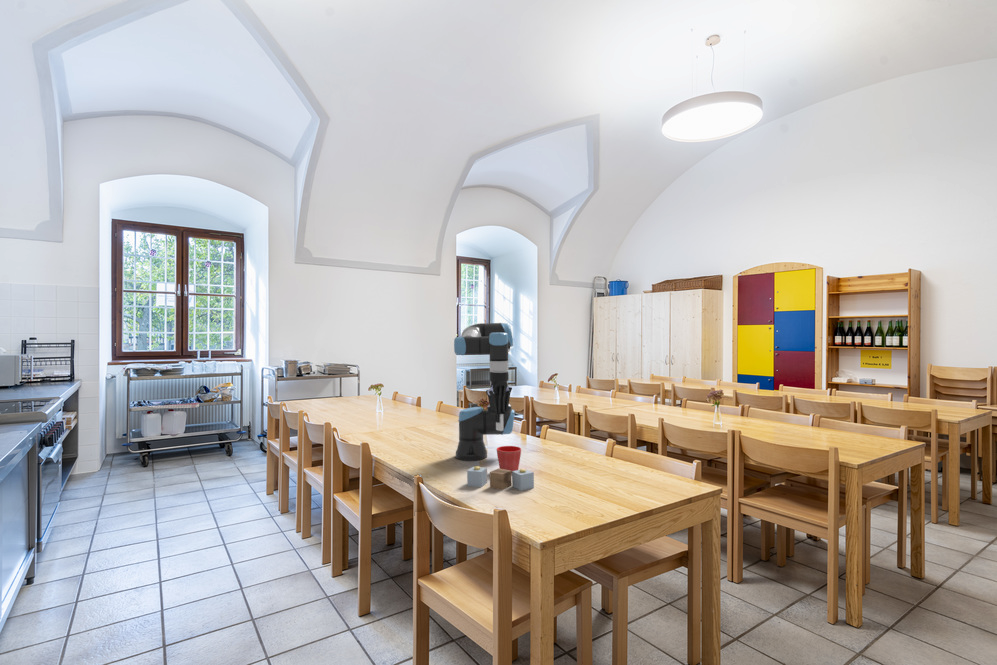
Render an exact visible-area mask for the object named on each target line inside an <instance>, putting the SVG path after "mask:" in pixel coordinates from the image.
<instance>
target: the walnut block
mask: <svg viewBox="0 0 997 665" xmlns="http://www.w3.org/2000/svg"><path fill="white" fill-rule="evenodd" d="M510 487H512V473H511V470H505V469H500V468H497V469H494V470H491V471H490V472H489V488H493V489H495V490H496V489H497V490H502V491H503V490H506V489H507V488H510Z"/></svg>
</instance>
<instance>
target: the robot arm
mask: <svg viewBox="0 0 997 665" xmlns="http://www.w3.org/2000/svg"><path fill="white" fill-rule="evenodd" d="M513 340H514V338H513V333H512V328H511V325H510V324H509V323H506V322H504V323H503V322H493V323H492V322H489V323H487V322H486V323H484V322H483V323H482V322H481V323H475V324H472V325H470V326H467V327H465V328H464V329H463V330H462V332H461V334H460V336H458V337H457V336H456V337H454V339H453V344H454V345H453V347H454V348H453V350H454V352H453V353H454V354H455V355H458V356H469V355H472V356H473V355H474V356H475V355H477V356H479V355H482V356H483V355H485V356H486V355H489V383H490V384H489V385H490V388H489V389H486V390H485V392H486V393H485V394H486V395H487V398H488V402H489V404H488V405H487V409H486V410H485V409H484V408H483V407H482V406H474V407H467V408H464V409H461V410H460V411H459V413H458V444H457V448H456V451H455V458H456V459H457V460H460V461H480V460H483V459H486V458H487V457H488V450H487V448H486V444H485V442H484V435H485V436H490V435H491V436H492V435H493V436H494V435H495V436H496V435H498V436H499V435H502V436H503V435H510V434H512V433H513V428H514V423H515V422H514V420H515V409H513V408H512V405H511V404H510V400H511V393H512V390H513V387H512V386H509V382H508V381H509V375H510V374H509V369H510V368H509V352H510V351H511V348H512V347H514V341H513Z"/></svg>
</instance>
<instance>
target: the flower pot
mask: <svg viewBox="0 0 997 665" xmlns="http://www.w3.org/2000/svg"><path fill="white" fill-rule="evenodd" d="M496 454H497V461H498V466H499V469H505V470H511V474H512V471H516V470H519V467H520V462H521V456H522V448H521V447H519V446H515V445H514V446H513V445H503V446H499V447H497V448H496Z"/></svg>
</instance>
